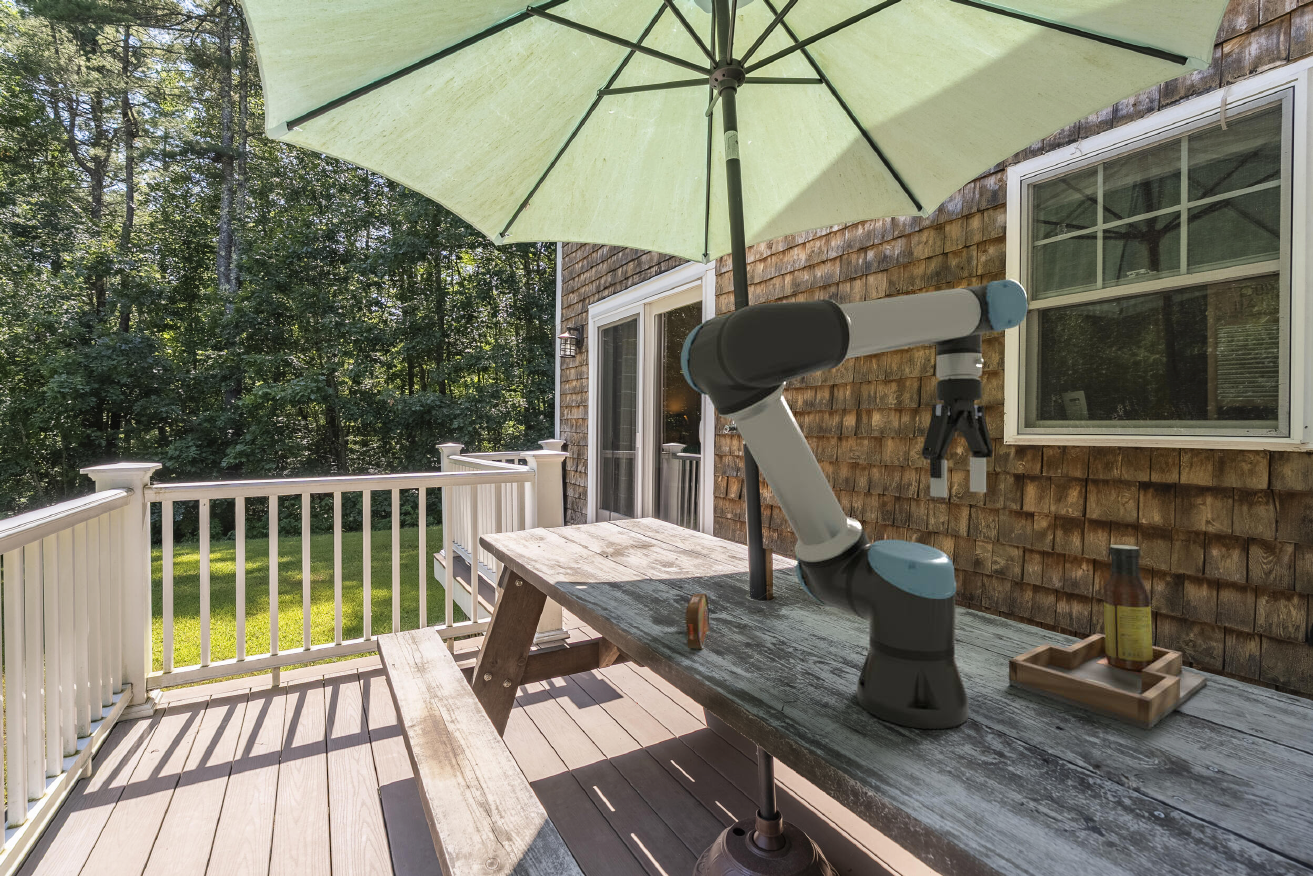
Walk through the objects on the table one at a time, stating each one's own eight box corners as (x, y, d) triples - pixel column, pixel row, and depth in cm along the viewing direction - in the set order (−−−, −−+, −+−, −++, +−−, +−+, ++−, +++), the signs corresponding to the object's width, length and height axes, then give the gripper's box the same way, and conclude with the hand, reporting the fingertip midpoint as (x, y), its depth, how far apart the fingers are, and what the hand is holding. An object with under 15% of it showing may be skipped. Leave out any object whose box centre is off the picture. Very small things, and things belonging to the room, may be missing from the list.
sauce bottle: (1161, 670, 100) (1162, 548, 100) (1137, 675, 98) (1137, 551, 98) (1118, 656, 106) (1119, 542, 106) (1094, 661, 104) (1095, 544, 104)
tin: (700, 656, 111) (700, 609, 111) (683, 655, 111) (683, 609, 111) (710, 629, 125) (710, 588, 125) (695, 628, 126) (694, 588, 126)
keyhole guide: (1148, 730, 82) (1148, 700, 82) (1008, 685, 97) (1009, 660, 97) (1206, 683, 97) (1206, 658, 97) (1077, 650, 112) (1077, 628, 112)
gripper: (941, 373, 102) (941, 500, 102) (1013, 380, 117) (1013, 491, 117) (900, 377, 108) (900, 497, 109) (973, 382, 123) (973, 488, 123)
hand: (958, 494), depth 113 cm, fingers open, 13 cm apart
